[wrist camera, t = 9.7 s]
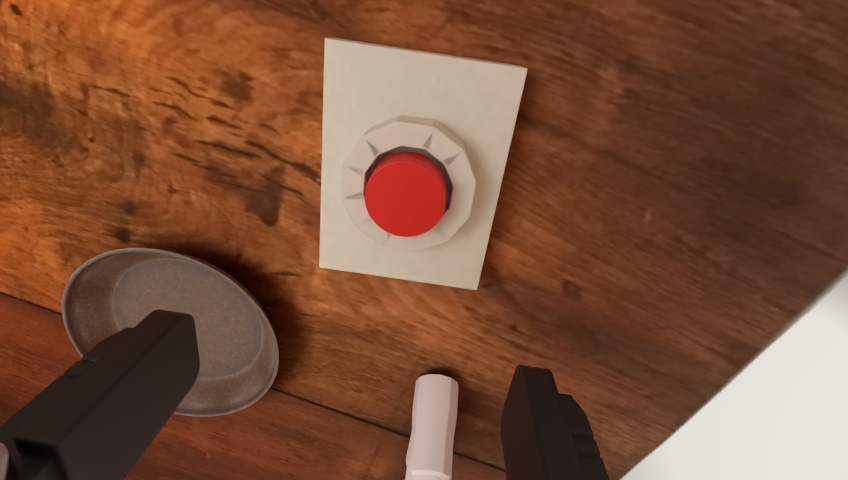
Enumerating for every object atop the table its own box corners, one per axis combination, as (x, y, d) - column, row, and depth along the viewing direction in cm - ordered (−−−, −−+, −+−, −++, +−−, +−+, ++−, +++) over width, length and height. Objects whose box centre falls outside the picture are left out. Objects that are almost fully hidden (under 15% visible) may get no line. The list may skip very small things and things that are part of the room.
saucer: (330, 344, 31) (320, 370, 29) (201, 415, 35) (182, 443, 33) (182, 189, 26) (154, 205, 24) (52, 293, 30) (18, 315, 28)
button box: (335, 37, 22) (313, 37, 18) (521, 65, 22) (535, 70, 18) (328, 251, 28) (310, 283, 24) (475, 272, 28) (479, 307, 24)
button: (373, 145, 21) (367, 154, 19) (452, 157, 21) (452, 166, 19) (367, 217, 22) (361, 231, 21) (440, 228, 22) (439, 242, 21)
